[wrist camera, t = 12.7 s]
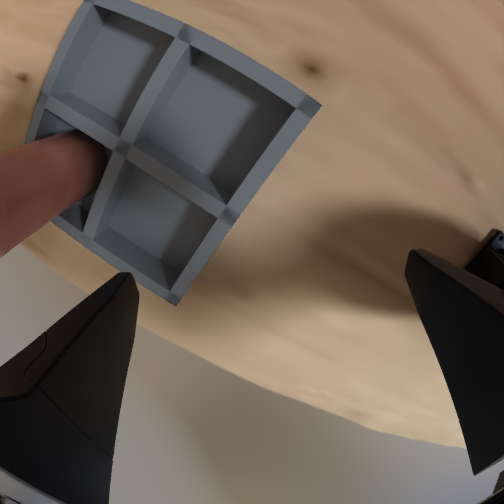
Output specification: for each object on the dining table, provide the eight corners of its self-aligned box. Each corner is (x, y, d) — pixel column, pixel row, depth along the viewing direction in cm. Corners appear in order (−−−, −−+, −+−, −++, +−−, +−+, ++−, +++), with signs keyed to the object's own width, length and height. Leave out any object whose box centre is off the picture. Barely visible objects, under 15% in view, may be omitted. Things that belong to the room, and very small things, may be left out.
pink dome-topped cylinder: (97, 118, 19) (-53, 168, 7) (116, 186, 21) (-11, 281, 10) (49, 140, 20) (-81, 199, 8) (67, 200, 22) (-47, 285, 11)
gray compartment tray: (317, 104, 17) (322, 105, 15) (187, 284, 25) (176, 306, 22) (113, -4, 14) (91, -12, 12) (35, 180, 22) (14, 191, 19)
